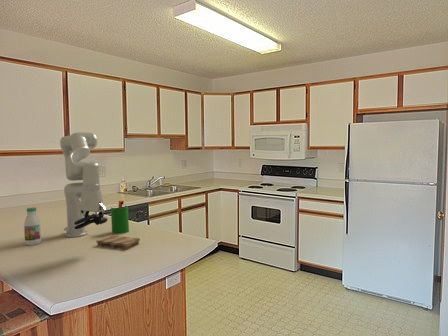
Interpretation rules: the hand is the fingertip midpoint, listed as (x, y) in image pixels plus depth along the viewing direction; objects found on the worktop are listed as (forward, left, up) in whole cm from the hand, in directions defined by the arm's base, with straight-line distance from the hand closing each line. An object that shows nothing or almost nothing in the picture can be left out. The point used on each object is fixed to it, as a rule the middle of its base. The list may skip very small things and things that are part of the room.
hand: (92, 223), depth 162 cm
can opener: (-1, -1, -1) cm, 2 cm away
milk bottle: (-45, +2, -16) cm, 48 cm away
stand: (+2, +16, -15) cm, 22 cm away
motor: (-14, +38, -16) cm, 44 cm away
